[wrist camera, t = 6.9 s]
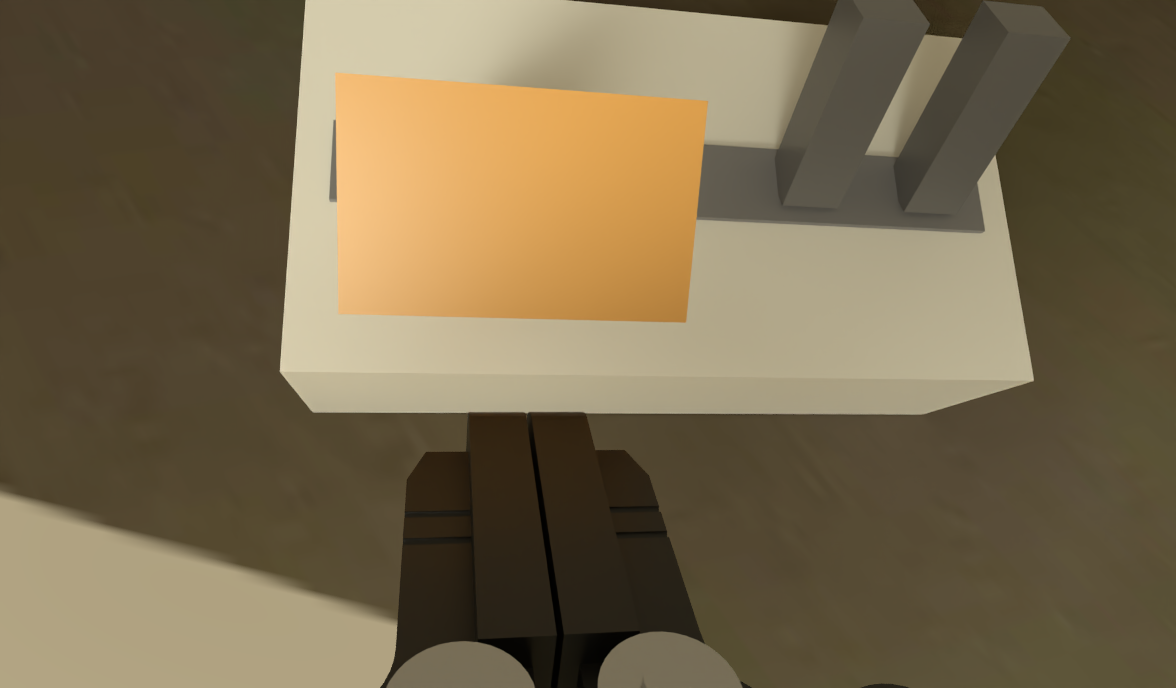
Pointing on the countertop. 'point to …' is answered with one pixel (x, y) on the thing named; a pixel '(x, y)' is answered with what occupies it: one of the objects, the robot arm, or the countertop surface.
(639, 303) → the lever
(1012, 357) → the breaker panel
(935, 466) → the countertop surface
